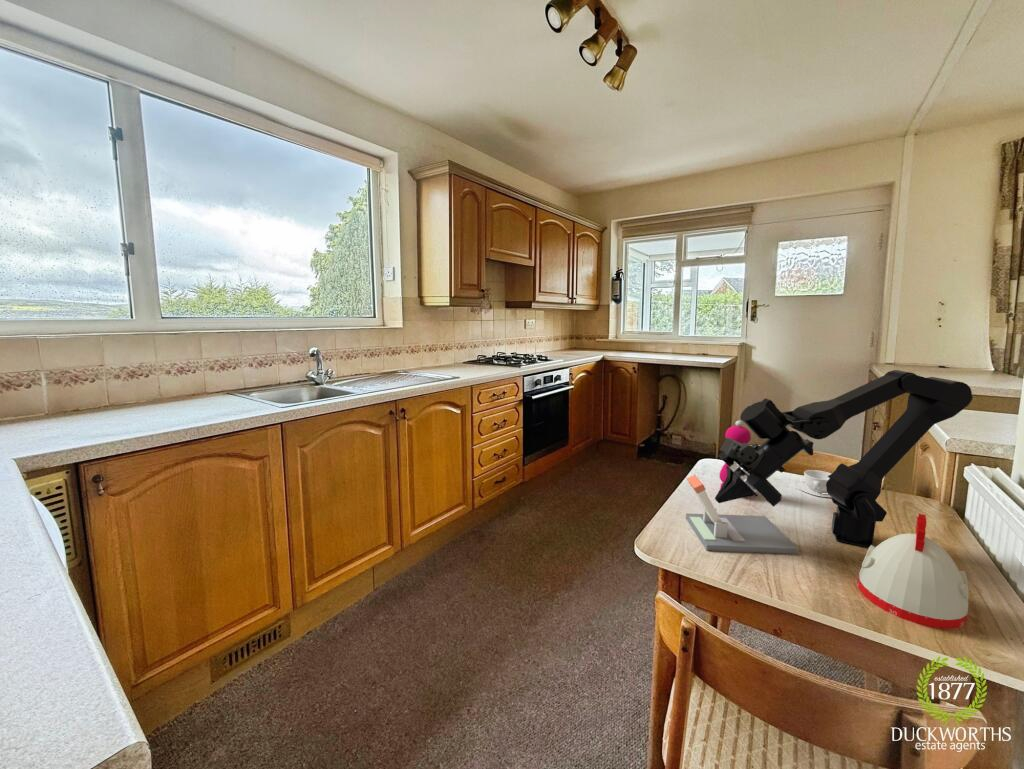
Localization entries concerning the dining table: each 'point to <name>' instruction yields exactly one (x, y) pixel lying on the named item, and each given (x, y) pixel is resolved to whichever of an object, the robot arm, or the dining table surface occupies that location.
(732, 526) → the switch panel
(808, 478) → the teacup
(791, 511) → the dining table surface
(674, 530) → the dining table surface
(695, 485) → the switch lever
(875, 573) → the kitchen timer
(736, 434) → the pepper mill
